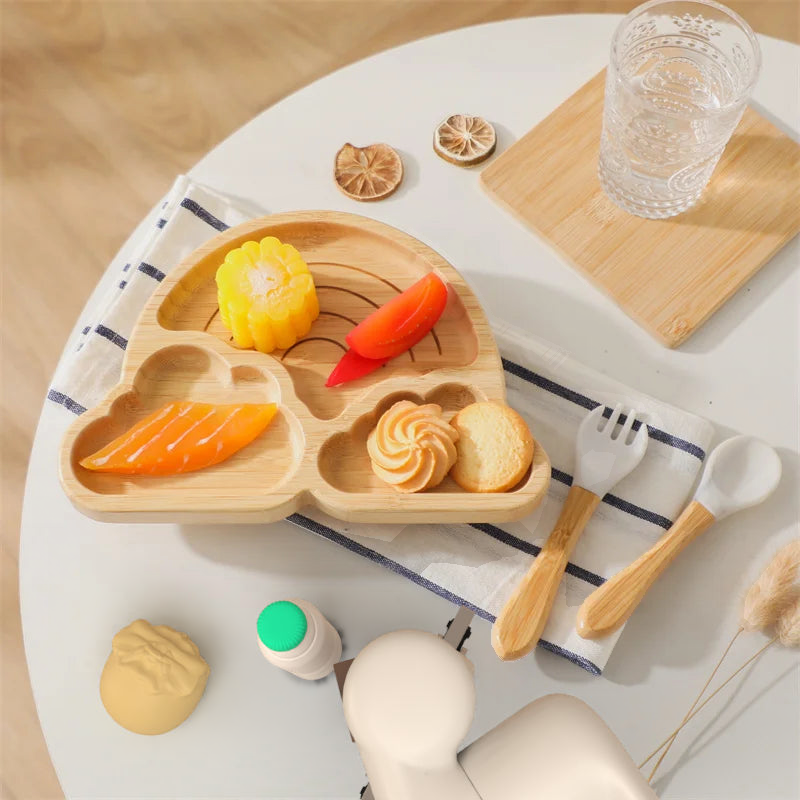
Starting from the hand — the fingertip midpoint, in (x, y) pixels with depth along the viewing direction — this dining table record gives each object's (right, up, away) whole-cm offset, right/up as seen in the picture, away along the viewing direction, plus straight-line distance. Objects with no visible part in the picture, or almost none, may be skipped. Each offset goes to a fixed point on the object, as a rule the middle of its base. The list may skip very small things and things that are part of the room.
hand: (418, 713), depth 77 cm
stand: (-2, -9, +30) cm, 32 cm away
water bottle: (-12, -4, +33) cm, 35 cm away
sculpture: (-30, -7, +32) cm, 44 cm away
